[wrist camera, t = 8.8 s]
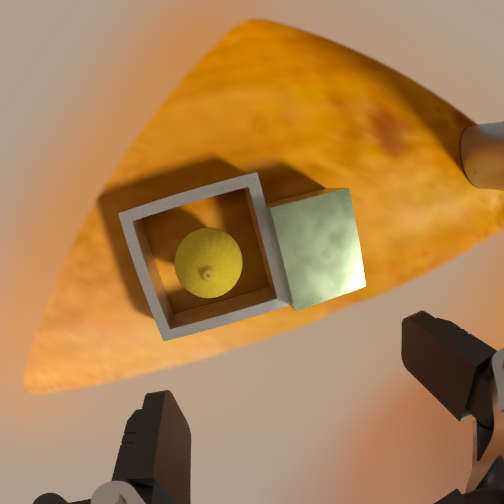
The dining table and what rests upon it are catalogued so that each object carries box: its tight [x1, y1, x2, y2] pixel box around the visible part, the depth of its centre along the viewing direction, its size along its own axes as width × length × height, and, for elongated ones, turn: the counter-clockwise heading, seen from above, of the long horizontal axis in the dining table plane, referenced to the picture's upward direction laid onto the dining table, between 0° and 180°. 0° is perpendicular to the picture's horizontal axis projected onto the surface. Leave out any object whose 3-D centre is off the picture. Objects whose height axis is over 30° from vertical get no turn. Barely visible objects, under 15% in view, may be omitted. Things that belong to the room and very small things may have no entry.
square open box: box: [118, 172, 366, 341], centre depth 26 cm, size 19×12×5 cm, turn 105°
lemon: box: [174, 228, 242, 298], centre depth 24 cm, size 6×6×8 cm
